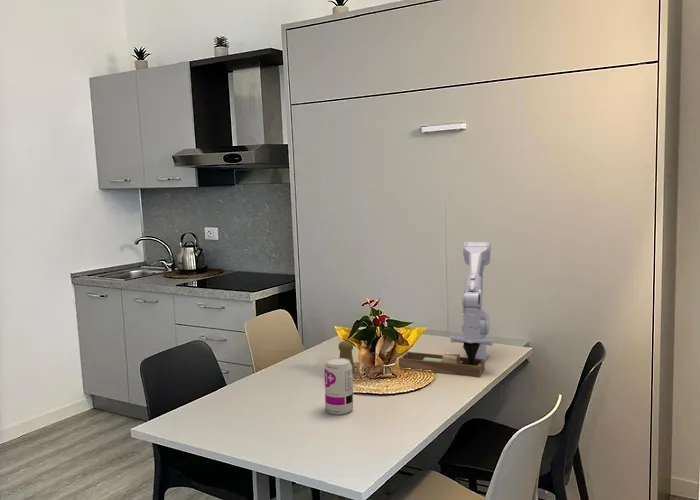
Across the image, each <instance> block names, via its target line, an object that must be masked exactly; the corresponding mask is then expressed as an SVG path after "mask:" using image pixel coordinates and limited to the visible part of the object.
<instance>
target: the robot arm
mask: <svg viewBox="0 0 700 500" xmlns="http://www.w3.org/2000/svg"><path fill="white" fill-rule="evenodd" d="M491 247H492V246H491V242H490V241H464V242H463V247H462V249H463V250H462V254H463V260H464V262H465V265H468V266H469V267H468V268H469V269H468V270H469V274H468V275H466V277H465V283H464V291H463V292H462V295H461V296H462V297H461V305H462V306H461V307H462V320H461V332H462V334H463V335H451V336H450V343H452V344H453V343H461V344H463V345H462V347H463V350H464V351H465V356H464V357H468V360H469V364H471V365H473V364H474V361H475V358H479V359H485V361H486V360H487V359H488V357H489V354H488V353H487V346H490V347H493V345H494V339H493V338H489V337H488V338H487V336H488V335H489V334H490V315H489V313H487V312H486V311H485V310H483V292H484V291H483V286H484V282H483V281H484V270H485V267H486V266H489V265H490V262H491V252H492V251H491V250H492V248H491Z"/></svg>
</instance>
